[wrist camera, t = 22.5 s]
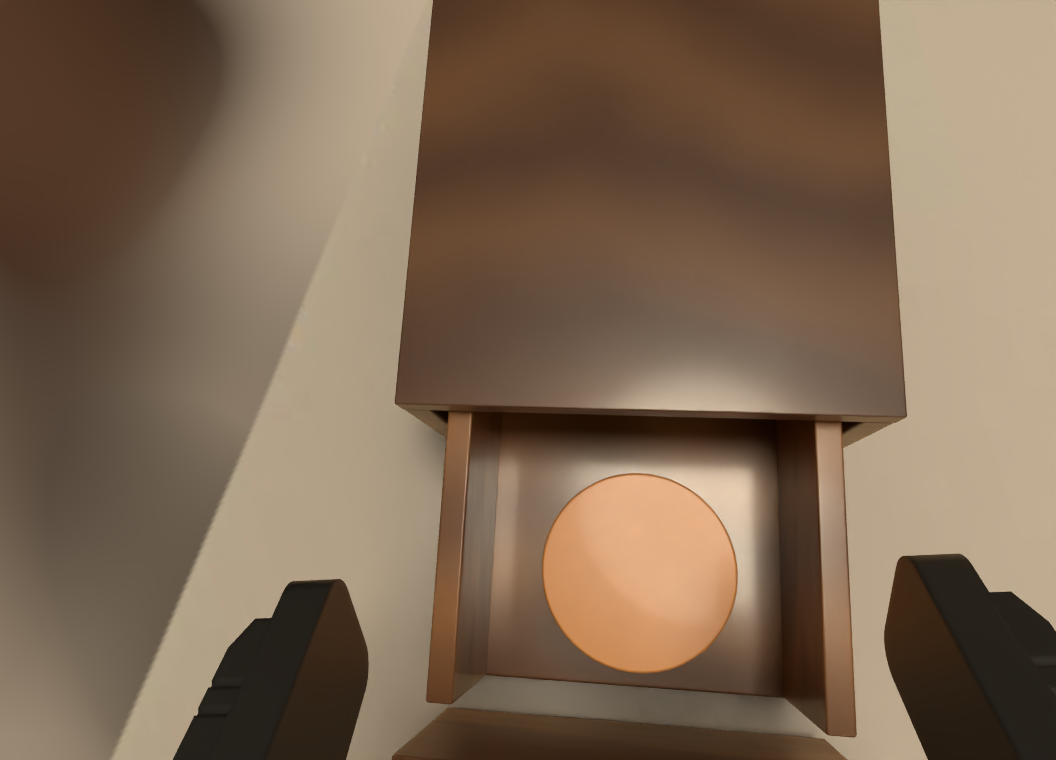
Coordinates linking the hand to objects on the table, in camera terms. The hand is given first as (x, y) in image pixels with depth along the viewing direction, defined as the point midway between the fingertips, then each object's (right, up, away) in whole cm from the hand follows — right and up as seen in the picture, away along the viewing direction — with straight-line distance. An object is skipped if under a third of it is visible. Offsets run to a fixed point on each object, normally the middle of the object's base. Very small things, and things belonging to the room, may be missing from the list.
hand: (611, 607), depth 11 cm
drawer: (+3, -6, +17) cm, 18 cm away
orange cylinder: (+3, -3, +16) cm, 17 cm away
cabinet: (+3, +8, +21) cm, 22 cm away
